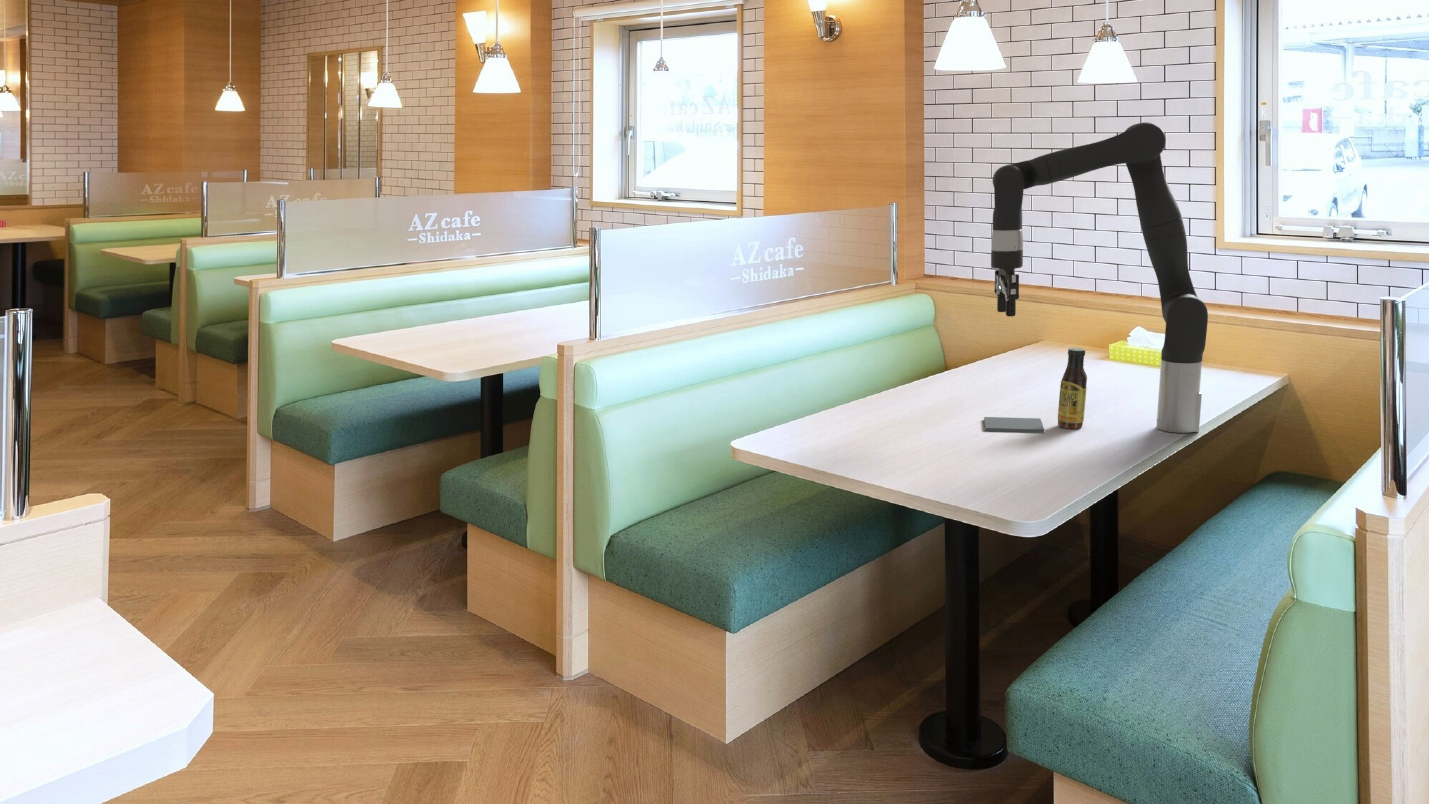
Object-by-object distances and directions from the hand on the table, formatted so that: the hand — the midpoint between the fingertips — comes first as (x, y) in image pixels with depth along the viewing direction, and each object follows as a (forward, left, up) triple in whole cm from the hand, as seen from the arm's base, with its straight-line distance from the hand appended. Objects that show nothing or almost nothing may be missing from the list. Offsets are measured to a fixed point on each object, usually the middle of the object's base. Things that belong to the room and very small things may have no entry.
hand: (1006, 314), depth 272 cm
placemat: (-3, +1, -28) cm, 28 cm away
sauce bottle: (-17, 0, -29) cm, 33 cm away
